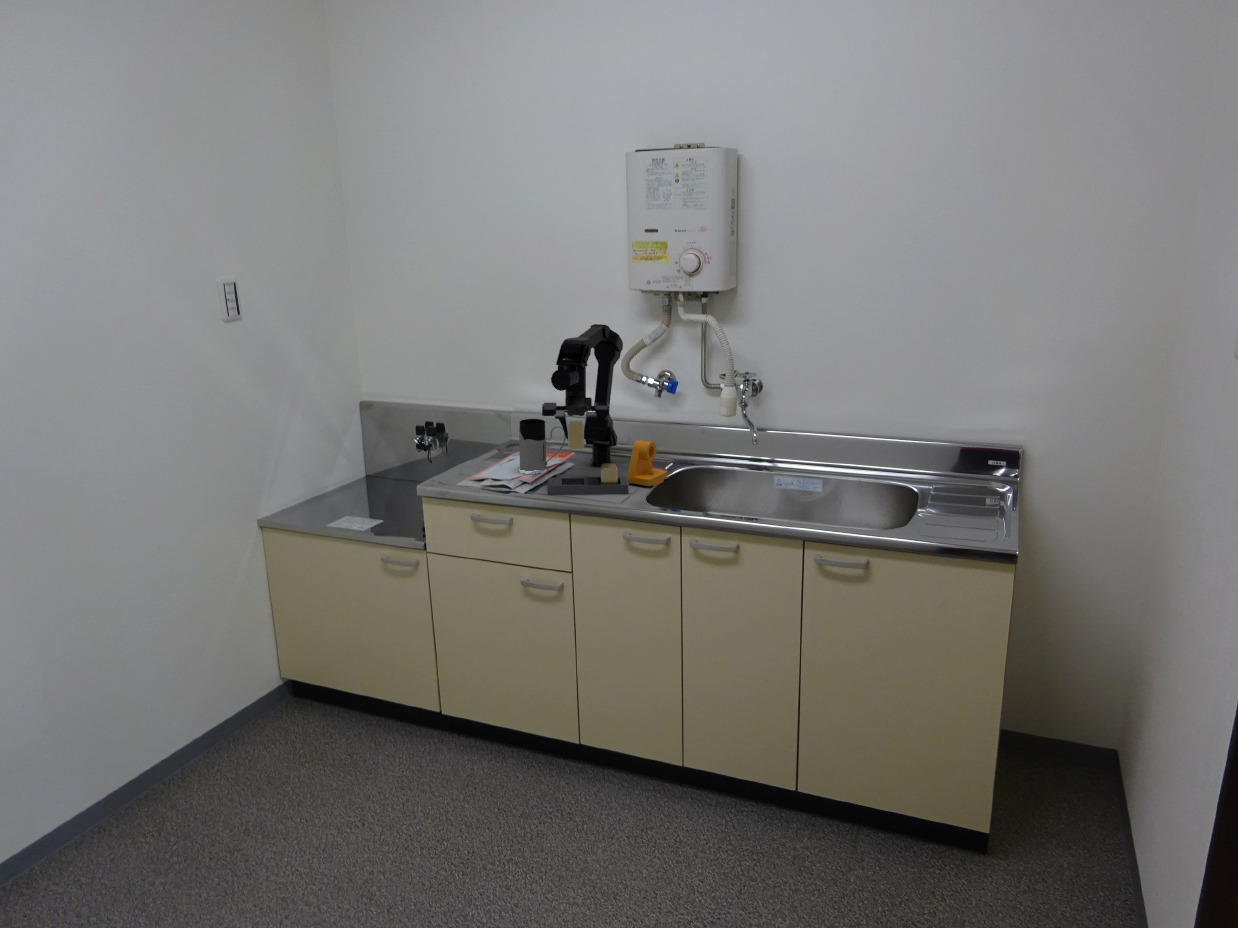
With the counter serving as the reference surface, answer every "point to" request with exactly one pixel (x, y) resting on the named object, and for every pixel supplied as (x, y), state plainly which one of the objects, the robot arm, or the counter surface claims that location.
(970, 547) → the counter surface
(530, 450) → the glass holder
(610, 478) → the tan-capped ribbed block
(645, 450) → the bracket
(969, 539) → the counter surface
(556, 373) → the robot arm
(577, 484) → the tray
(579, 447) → the gold metal block
